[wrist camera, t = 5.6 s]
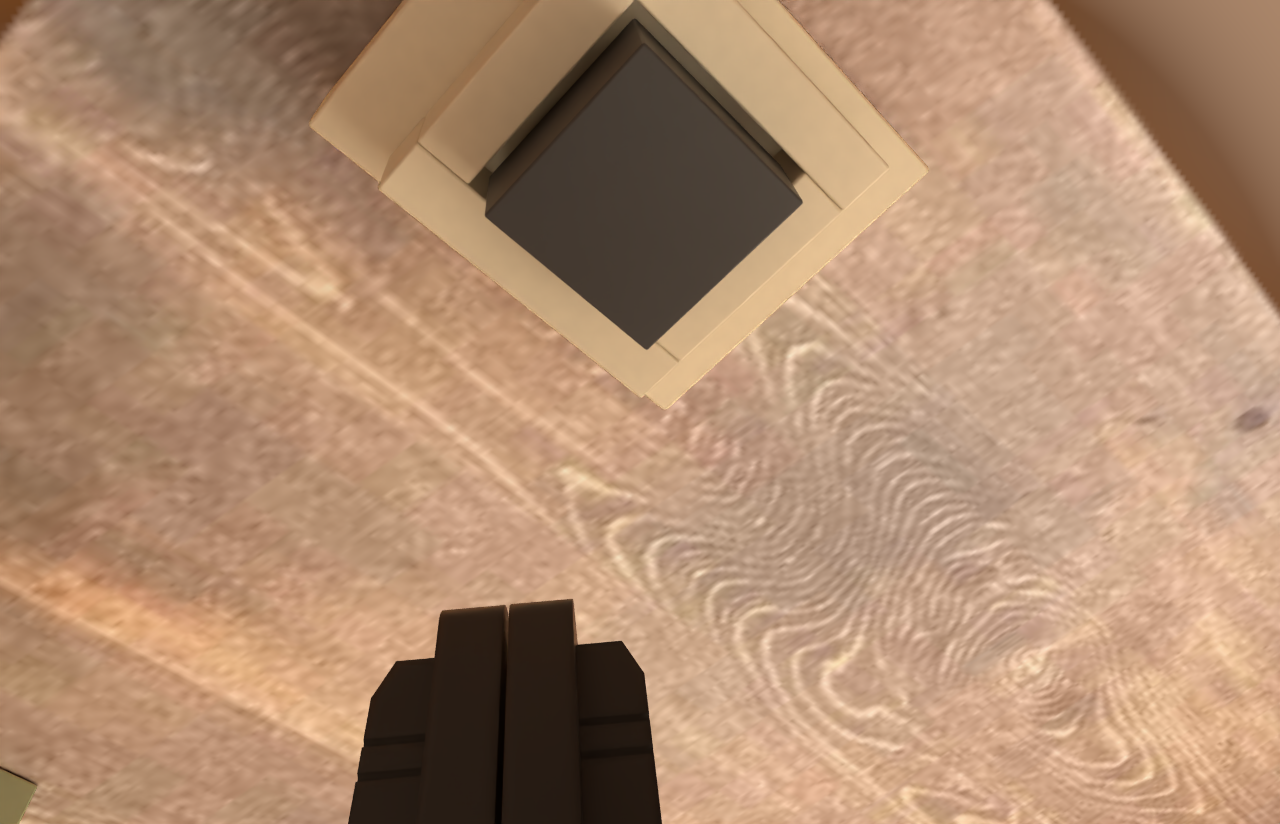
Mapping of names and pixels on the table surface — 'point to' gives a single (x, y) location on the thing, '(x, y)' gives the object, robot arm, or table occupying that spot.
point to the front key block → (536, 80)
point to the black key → (639, 188)
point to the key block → (14, 797)
